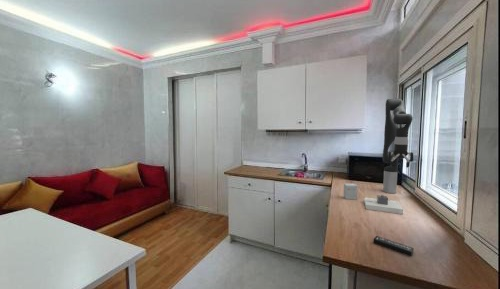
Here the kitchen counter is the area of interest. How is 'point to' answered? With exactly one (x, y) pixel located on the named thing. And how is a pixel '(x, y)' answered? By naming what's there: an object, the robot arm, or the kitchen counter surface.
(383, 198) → the plug
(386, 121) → the robot arm
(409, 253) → the multiport hub
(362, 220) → the kitchen counter surface
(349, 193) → the small box
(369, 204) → the socket plate
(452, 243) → the kitchen counter surface
